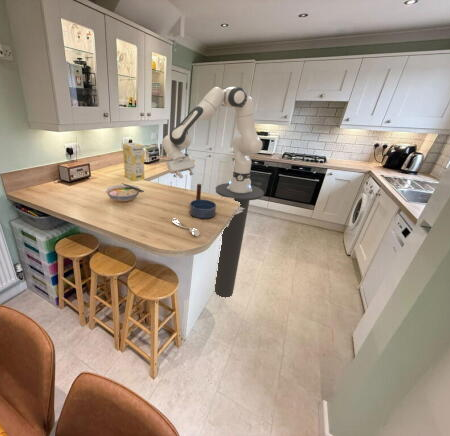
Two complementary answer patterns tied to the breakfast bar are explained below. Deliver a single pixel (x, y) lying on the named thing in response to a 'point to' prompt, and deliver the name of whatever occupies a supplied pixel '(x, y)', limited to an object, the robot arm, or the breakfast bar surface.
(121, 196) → the ramen bowl
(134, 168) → the pasta box
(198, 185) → the muddler
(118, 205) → the breakfast bar surface
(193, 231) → the silver metal spoon
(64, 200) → the breakfast bar surface
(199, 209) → the mixing bowl
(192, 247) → the breakfast bar surface
